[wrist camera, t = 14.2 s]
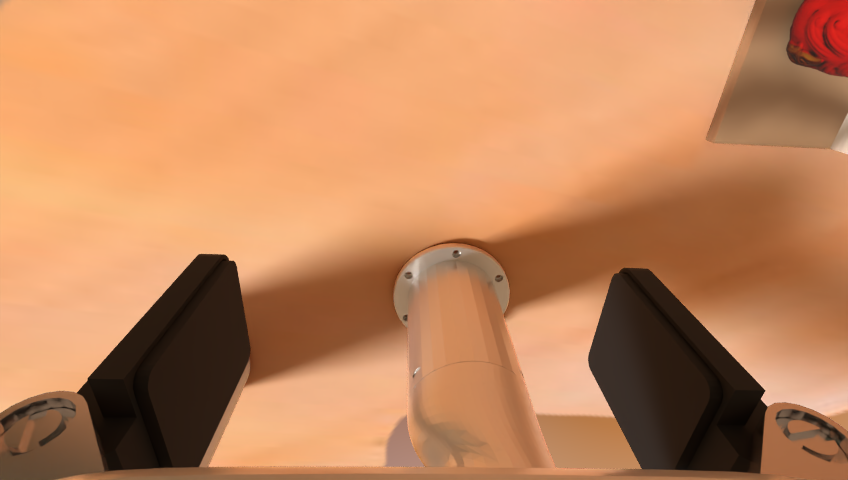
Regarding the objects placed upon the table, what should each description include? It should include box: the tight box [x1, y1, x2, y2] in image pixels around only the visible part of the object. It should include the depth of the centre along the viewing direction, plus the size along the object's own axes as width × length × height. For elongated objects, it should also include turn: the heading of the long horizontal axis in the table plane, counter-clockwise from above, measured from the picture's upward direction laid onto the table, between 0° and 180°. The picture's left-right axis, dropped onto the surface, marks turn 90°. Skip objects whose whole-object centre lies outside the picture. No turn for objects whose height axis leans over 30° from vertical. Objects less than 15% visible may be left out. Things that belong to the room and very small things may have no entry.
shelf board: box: [706, 0, 848, 154], centre depth 34 cm, size 20×12×4 cm, turn 177°
